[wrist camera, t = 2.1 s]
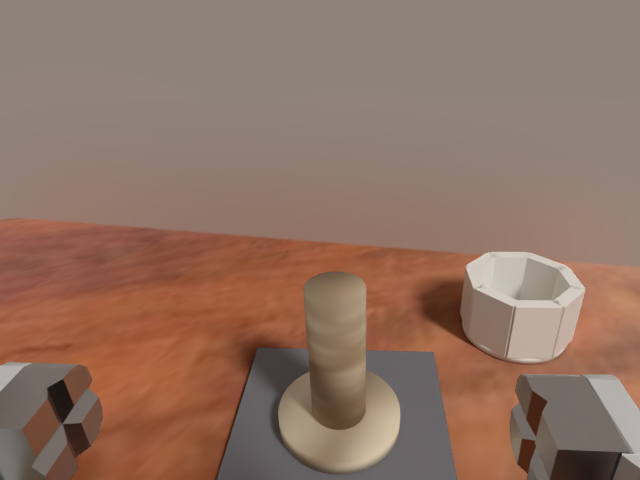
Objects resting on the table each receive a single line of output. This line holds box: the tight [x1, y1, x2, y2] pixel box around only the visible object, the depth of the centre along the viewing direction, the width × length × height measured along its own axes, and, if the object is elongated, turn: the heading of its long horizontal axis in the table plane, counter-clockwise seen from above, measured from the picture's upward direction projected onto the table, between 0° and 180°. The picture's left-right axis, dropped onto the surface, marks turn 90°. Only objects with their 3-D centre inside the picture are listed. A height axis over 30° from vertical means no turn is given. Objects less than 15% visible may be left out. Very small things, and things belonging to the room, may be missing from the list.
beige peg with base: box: [278, 272, 400, 475], centre depth 24 cm, size 7×7×9 cm
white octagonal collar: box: [460, 252, 585, 364], centre depth 32 cm, size 7×7×4 cm
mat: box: [217, 348, 457, 480], centre depth 26 cm, size 12×12×1 cm
